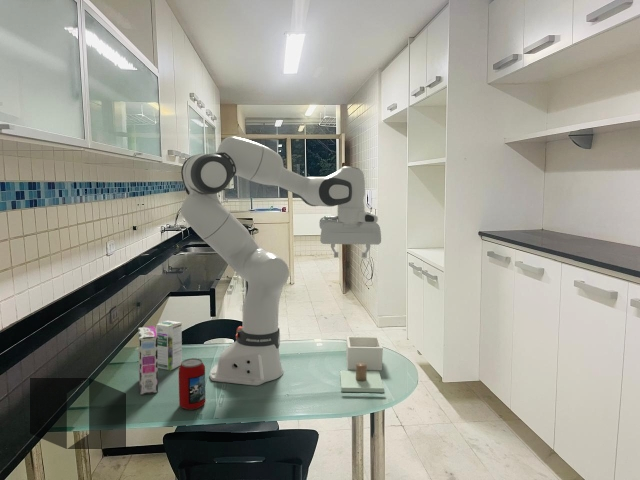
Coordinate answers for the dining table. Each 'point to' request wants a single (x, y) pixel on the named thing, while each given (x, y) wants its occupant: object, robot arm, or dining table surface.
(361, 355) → the tub
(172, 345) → the syrup box
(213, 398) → the dining table surface
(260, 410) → the dining table surface
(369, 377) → the lid
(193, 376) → the beverage can
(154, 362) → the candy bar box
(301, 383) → the dining table surface
